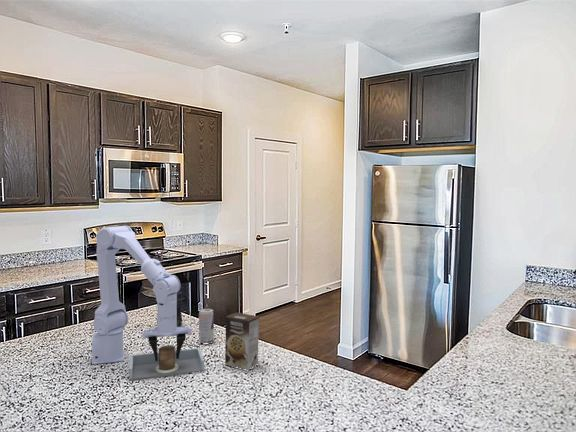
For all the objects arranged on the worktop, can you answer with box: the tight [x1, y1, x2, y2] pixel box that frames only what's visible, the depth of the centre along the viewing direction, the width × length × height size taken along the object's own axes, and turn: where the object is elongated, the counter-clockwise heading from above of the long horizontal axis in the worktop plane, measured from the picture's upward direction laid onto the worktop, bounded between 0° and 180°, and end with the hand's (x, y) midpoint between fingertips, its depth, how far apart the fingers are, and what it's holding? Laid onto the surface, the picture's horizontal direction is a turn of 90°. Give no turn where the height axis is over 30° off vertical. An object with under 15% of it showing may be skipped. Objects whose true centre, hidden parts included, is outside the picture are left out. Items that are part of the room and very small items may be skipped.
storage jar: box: [177, 289, 183, 327], centre depth 168 cm, size 10×10×15 cm
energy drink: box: [198, 308, 215, 344], centre depth 153 cm, size 5×5×12 cm
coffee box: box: [224, 312, 260, 371], centre depth 133 cm, size 9×6×16 cm
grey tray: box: [128, 347, 205, 382], centre depth 130 cm, size 22×11×4 cm, turn 109°
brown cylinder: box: [158, 345, 176, 371], centre depth 129 cm, size 5×5×6 cm
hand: (167, 358), depth 129 cm, fingers open, 6 cm apart
